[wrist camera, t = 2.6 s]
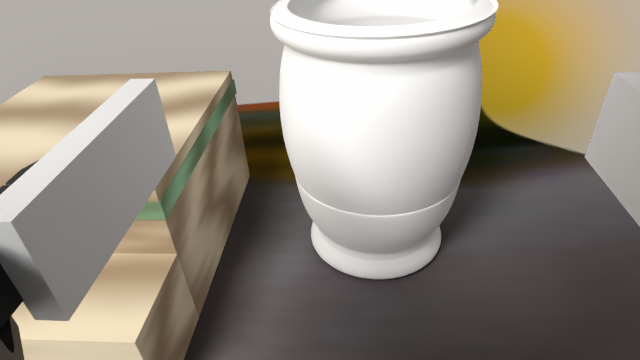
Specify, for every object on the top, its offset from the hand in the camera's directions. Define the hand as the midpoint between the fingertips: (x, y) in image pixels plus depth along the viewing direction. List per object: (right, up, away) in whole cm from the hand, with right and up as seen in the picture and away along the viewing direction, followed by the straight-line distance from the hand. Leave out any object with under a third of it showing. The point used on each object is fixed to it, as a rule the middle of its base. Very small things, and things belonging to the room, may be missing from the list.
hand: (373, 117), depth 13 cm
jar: (+2, -6, +16) cm, 17 cm away
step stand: (-15, -7, +16) cm, 23 cm away
